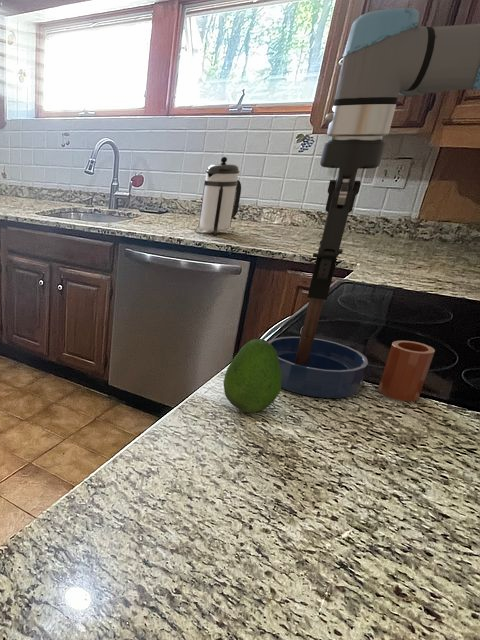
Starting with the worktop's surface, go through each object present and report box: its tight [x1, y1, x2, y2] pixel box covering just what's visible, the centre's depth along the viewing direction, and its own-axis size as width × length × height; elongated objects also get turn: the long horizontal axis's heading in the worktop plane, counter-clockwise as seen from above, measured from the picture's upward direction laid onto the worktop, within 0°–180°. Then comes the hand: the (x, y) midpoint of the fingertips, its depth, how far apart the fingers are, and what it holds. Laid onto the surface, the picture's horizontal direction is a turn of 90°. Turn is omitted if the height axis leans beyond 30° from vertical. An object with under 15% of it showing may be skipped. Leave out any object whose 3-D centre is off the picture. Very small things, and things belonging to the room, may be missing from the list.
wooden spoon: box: [294, 298, 325, 367], centre depth 85 cm, size 3×2×24 cm, turn 149°
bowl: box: [268, 336, 369, 399], centre depth 90 cm, size 15×15×6 cm
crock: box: [377, 340, 436, 402], centre depth 84 cm, size 5×6×9 cm
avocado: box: [223, 338, 282, 413], centre depth 80 cm, size 8×8×12 cm
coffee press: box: [194, 156, 242, 237], centre depth 216 cm, size 17×16×30 cm
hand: (317, 295), depth 85 cm, fingers closed on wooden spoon, 2 cm apart
